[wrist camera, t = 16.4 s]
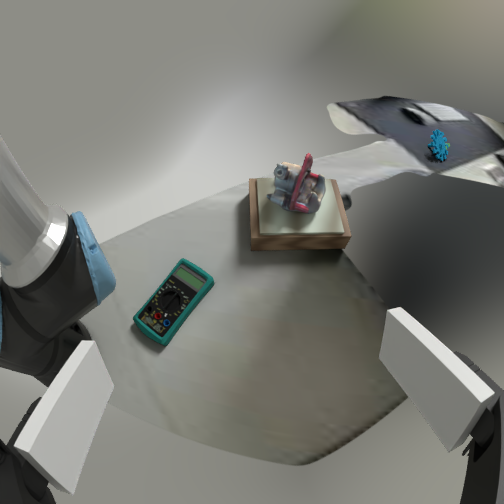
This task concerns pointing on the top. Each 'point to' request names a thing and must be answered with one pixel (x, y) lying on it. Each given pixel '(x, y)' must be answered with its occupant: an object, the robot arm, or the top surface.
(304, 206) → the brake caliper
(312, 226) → the walnut stand
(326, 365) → the top surface
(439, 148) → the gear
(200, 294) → the digital multimeter
